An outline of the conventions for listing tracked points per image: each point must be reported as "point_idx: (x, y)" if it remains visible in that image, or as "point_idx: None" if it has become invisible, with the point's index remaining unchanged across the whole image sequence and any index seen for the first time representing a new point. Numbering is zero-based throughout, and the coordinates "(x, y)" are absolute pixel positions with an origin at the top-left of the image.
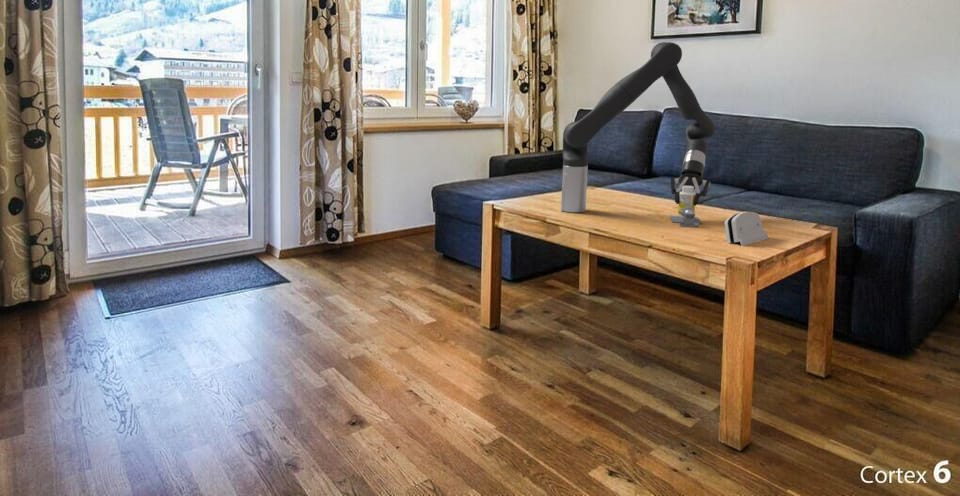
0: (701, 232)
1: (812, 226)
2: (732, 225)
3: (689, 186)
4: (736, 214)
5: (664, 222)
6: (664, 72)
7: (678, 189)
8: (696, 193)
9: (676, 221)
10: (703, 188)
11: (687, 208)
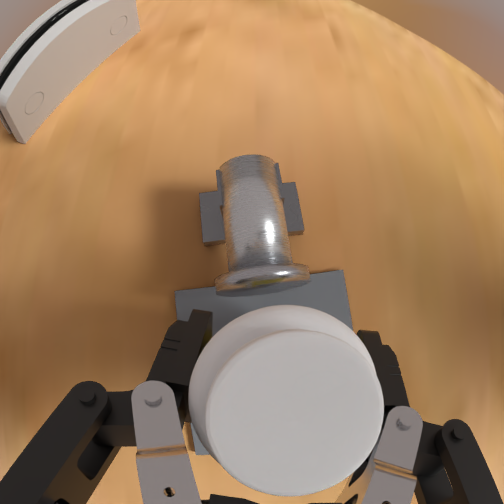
0: (197, 108)
1: None
2: None
3: (275, 439)
4: (73, 11)
5: (380, 264)
6: None
7: (403, 439)
8: (179, 405)
9: (321, 278)
10: (82, 433)
11: (268, 237)
